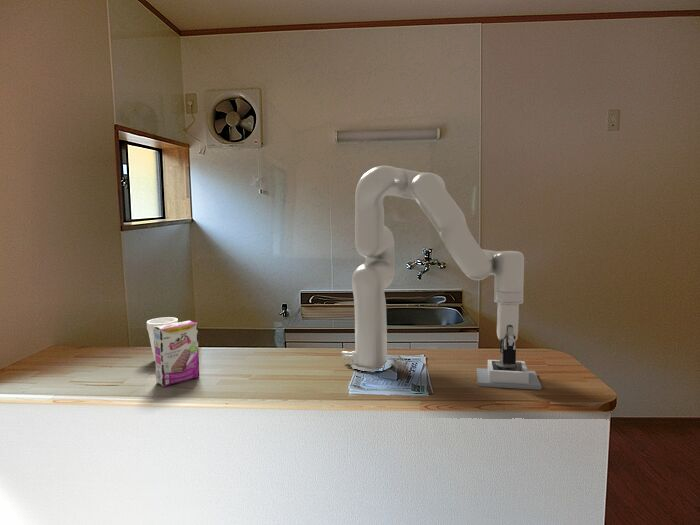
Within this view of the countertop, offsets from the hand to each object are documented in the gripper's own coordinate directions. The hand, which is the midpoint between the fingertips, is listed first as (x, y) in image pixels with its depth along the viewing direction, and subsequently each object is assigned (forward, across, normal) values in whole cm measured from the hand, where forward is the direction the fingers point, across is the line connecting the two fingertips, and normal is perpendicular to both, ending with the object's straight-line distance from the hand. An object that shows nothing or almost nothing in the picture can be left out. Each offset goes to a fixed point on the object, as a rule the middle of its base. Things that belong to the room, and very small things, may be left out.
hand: (507, 358), depth 140 cm
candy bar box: (+6, +15, -91) cm, 92 cm away
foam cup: (+6, -2, -106) cm, 106 cm away
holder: (+6, 0, 0) cm, 6 cm away
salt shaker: (+5, 0, 0) cm, 5 cm away
